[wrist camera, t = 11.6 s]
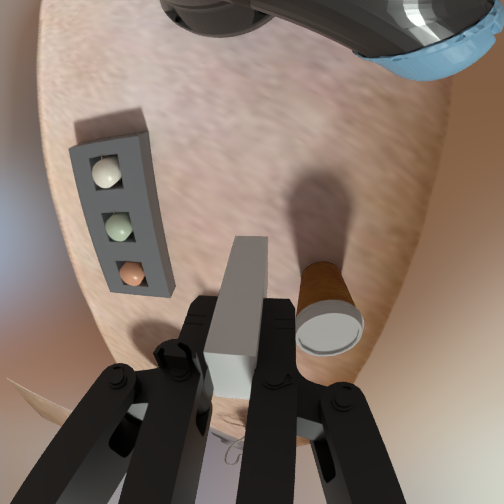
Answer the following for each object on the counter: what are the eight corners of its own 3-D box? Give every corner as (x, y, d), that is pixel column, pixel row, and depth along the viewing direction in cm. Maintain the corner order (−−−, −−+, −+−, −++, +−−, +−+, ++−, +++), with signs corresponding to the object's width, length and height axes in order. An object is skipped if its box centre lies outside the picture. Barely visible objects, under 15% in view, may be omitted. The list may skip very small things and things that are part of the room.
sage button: (113, 207, 41) (102, 217, 38) (135, 206, 40) (124, 217, 37) (119, 229, 43) (109, 241, 40) (140, 229, 42) (130, 241, 40)
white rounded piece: (102, 155, 36) (89, 162, 33) (125, 152, 36) (112, 159, 33) (107, 180, 38) (95, 189, 35) (129, 178, 38) (118, 187, 35)
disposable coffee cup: (282, 263, 44) (280, 322, 34) (342, 244, 41) (358, 300, 31) (302, 306, 48) (304, 364, 38) (356, 290, 45) (370, 347, 35)
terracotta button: (125, 253, 45) (116, 265, 42) (146, 254, 45) (137, 266, 42) (131, 272, 47) (123, 284, 45) (151, 273, 47) (144, 286, 44)
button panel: (80, 142, 35) (68, 148, 33) (148, 131, 34) (138, 135, 31) (117, 281, 49) (110, 292, 47) (175, 286, 48) (170, 297, 46)
